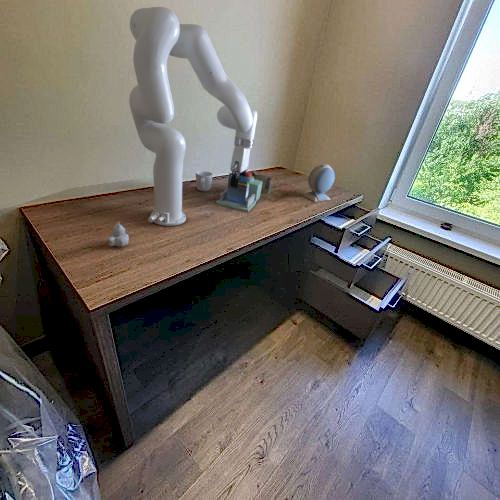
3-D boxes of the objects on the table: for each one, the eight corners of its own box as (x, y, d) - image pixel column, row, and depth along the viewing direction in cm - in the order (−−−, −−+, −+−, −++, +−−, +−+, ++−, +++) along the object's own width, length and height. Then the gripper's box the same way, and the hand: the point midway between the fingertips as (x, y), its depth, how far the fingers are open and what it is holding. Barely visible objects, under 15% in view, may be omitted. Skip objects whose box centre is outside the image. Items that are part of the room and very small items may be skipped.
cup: (209, 195, 128) (210, 178, 124) (192, 193, 128) (192, 176, 124) (212, 188, 137) (213, 172, 133) (196, 185, 137) (197, 169, 133)
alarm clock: (318, 193, 156) (327, 161, 147) (332, 199, 149) (342, 166, 140) (300, 195, 148) (309, 161, 139) (313, 202, 142) (323, 167, 133)
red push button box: (255, 202, 129) (258, 181, 124) (227, 195, 132) (229, 174, 127) (259, 197, 136) (263, 177, 131) (233, 190, 139) (235, 171, 134)
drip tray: (247, 212, 118) (249, 203, 116) (215, 203, 121) (216, 194, 119) (256, 203, 129) (257, 194, 127) (226, 195, 132) (227, 187, 130)
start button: (249, 178, 127) (249, 174, 126) (241, 177, 128) (242, 172, 127) (251, 176, 130) (252, 172, 129) (244, 175, 131) (244, 170, 130)
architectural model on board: (249, 187, 146) (251, 169, 141) (252, 186, 148) (254, 168, 143) (267, 194, 141) (270, 175, 136) (270, 193, 144) (273, 174, 139)
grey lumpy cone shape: (134, 245, 84) (132, 221, 80) (114, 253, 79) (111, 228, 75) (122, 238, 87) (119, 215, 82) (102, 246, 82) (99, 222, 77)
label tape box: (247, 202, 125) (251, 175, 119) (244, 204, 122) (248, 177, 115) (229, 197, 127) (232, 170, 120) (225, 200, 123) (228, 172, 117)
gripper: (241, 138, 119) (236, 177, 128) (227, 143, 105) (222, 186, 113) (258, 142, 118) (251, 181, 126) (245, 147, 103) (239, 191, 112)
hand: (237, 184), depth 120 cm, fingers open, 9 cm apart
